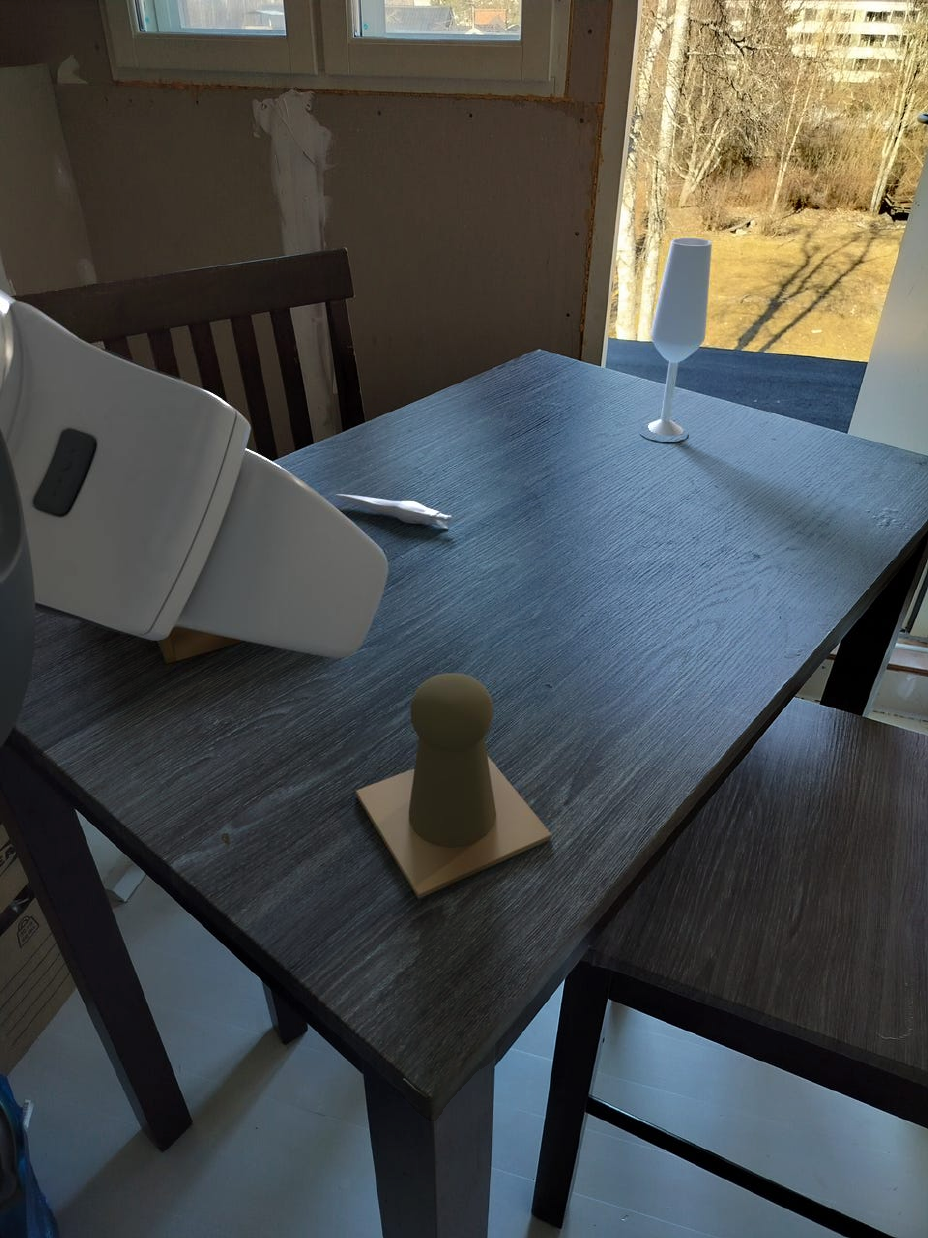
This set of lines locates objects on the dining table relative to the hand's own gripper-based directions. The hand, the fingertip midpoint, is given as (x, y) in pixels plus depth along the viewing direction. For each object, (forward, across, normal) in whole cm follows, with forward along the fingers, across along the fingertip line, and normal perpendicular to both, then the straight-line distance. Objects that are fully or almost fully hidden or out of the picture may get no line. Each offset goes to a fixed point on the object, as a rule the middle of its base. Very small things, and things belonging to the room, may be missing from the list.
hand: (234, 576), depth 37 cm
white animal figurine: (+52, -23, +16) cm, 59 cm away
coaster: (+27, +4, -9) cm, 28 cm away
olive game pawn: (+26, +4, -9) cm, 28 cm away
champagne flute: (+78, -4, +42) cm, 89 cm away
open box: (+37, -28, +1) cm, 47 cm away
